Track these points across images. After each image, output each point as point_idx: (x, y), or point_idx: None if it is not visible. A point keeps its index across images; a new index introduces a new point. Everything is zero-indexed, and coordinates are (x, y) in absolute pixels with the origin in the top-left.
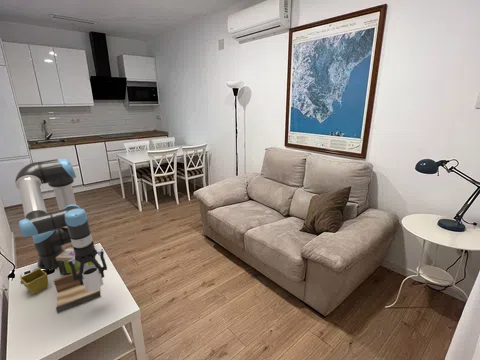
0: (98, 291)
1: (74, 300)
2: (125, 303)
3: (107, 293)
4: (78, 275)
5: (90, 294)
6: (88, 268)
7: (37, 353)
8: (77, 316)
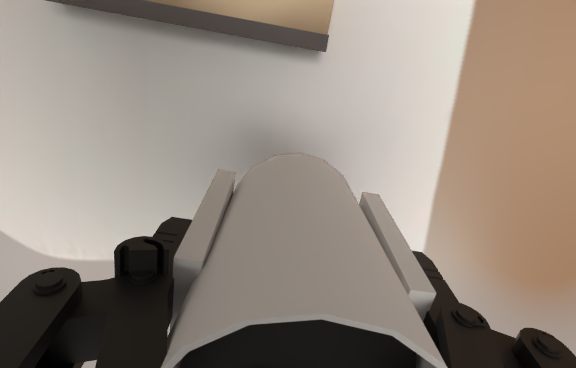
0: (320, 41)
1: (156, 7)
2: (402, 213)
3: (363, 51)
4: (103, 319)
5: (265, 29)
6: (296, 282)
7: (7, 226)
8: (172, 125)
